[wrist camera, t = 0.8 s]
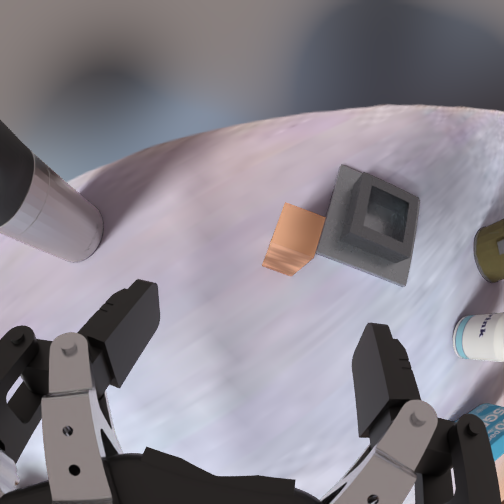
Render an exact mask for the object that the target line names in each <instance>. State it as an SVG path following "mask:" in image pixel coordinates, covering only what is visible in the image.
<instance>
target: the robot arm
mask: <svg viewBox="0 0 504 504" xmlns="http://www.w3.org/2000/svg"><path fill="white" fill-rule="evenodd" d="M0 233H1V234H3V235H6V236H8V237H11V238H13V239H15V240H17V241H20V242H22V243H24V244H27V245H29V246H31V247H34V248H36V249H39V250H41V251H43V252H46V253H48V254H51V255H53V256H56V257H58V258H61V259H63V260H66V261H69V262H80V261H83V260H85V259H87V258H88V257H89V256H90V255H91V254H93V252H94V251H95V250H96V248H97V247H98V245H99V243H100V240H101V237H102V233H103V220H102V216H101V214H100V212H99V211H98V209H97V208H96V207H95V206H93V205H92V204H91V203H90V202H89V201H87V200H86V199H85V198H84V197H83V196H82V195H81V194H79V193H78V192H77V191H76V190H75V189H74V188H72V187H71V186H70V185H69V184H68V183H67V182H65V181H64V180H63V179H62V178H61V177H60V176H59V175H57V174H56V173H55V172H54V171H53V170H52V169H51V168H50V167H48V166H47V165H46V164H45V163H44V162H43V161H42V160H40V159H39V158H38V157H37V156H36V155H35V154H34V153H33V152H32V151H31V150H30V149H29V148H27V147H26V146H25V145H24V144H23V143H22V142H21V141H20V140H19V139H18V138H17V137H16V136H15V134H13V132H12V131H11V130H10V129H8V127H7V126H6V125H5V124H4V123H3V122H2V121H1V120H0ZM159 321H160V308H159V296H158V286H157V284H156V283H153V282H149V281H144V280H140V279H137V280H136V281H135V282H134V283H133V284H132V285H131V286H130V287H129V288H128V289H122V290H120V291H118V292H116V293H115V294H113V295H112V296H111V297H110V298H109V299H108V300H107V301H106V303H105V304H103V305H102V306H101V308H100V310H98V311H97V312H96V313H95V314H94V315H93V316H92V317H91V318H90V319H89V321H88V322H87V323H86V324H85V325H84V326H83V327H82V328H81V329H80V330H79V332H78V333H73V332H71V333H65V334H62V335H60V336H58V337H57V338H55V339H54V341H47V340H40V339H36V337H35V334H34V332H33V330H32V329H31V328H30V327H27V326H17V327H14V328H12V329H11V330H9V331H8V332H7V333H6V334H5V335H4V336H3V337H2V338H1V340H0V504H402V503H403V501H404V500H405V498H406V496H407V495H408V493H409V492H410V490H411V488H412V487H413V485H414V483H415V504H501V497H500V490H499V484H498V478H497V472H496V467H495V462H494V458H493V453H492V449H491V445H490V441H489V437H488V433H487V430H486V427H485V424H484V422H483V421H482V420H481V419H480V418H479V417H478V416H476V415H474V414H465V415H463V416H461V417H460V418H459V419H458V420H457V422H453V421H449V420H445V419H441V418H438V417H437V414H436V412H435V410H434V409H433V408H432V406H430V405H429V404H428V403H426V402H424V401H421V398H420V394H419V391H418V387H417V384H416V381H415V377H414V374H413V371H412V370H411V365H410V362H409V361H408V360H409V359H408V356H407V353H406V350H405V348H404V347H403V345H402V344H401V343H400V342H399V341H398V339H393V338H392V335H391V332H390V329H389V326H388V325H385V324H377V323H368V324H367V325H366V327H365V329H364V332H363V334H362V336H361V338H360V341H359V343H358V345H357V347H356V349H355V352H354V355H353V359H352V372H353V380H354V389H355V398H356V408H357V419H358V431H359V437H361V438H370V444H369V445H368V447H367V448H366V449H365V450H364V452H363V453H362V454H361V455H360V457H359V458H358V459H357V460H356V462H355V463H354V464H353V465H352V467H351V468H350V469H349V470H348V471H347V472H346V474H345V475H344V476H343V477H342V478H341V479H340V480H339V482H338V483H337V484H336V485H335V486H334V487H332V488H331V489H330V490H329V491H328V492H327V493H326V494H325V495H324V496H323V497H322V498H321V499H320V500H318V499H317V498H316V497H314V496H312V495H311V494H309V493H307V492H305V491H302V490H300V489H297V488H295V480H292V479H282V478H273V477H266V476H259V475H256V476H215V475H212V474H210V473H208V472H206V471H204V470H202V469H200V468H198V467H196V466H195V465H193V464H191V463H189V462H187V461H185V460H183V459H182V458H179V457H176V456H172V455H169V454H166V453H163V452H160V451H157V450H154V449H152V448H149V447H146V449H145V451H144V453H143V454H139V453H126V454H123V451H122V449H121V446H120V444H119V441H118V439H117V436H116V433H115V429H114V425H113V421H112V417H111V412H110V407H109V403H108V398H107V393H106V389H107V387H108V386H109V384H110V385H113V386H115V387H117V388H120V387H121V385H122V384H123V382H124V381H125V379H126V377H127V376H128V374H129V372H130V371H131V369H132V368H133V366H134V364H135V363H136V361H137V360H138V358H139V357H140V355H141V353H142V352H143V350H144V349H145V347H146V345H147V344H148V342H149V341H150V339H151V338H152V336H153V335H154V333H155V331H156V330H157V328H158V325H159ZM19 376H21V378H22V379H23V382H22V384H21V385H20V386H19V388H18V389H17V390H16V392H15V393H14V395H13V396H12V398H11V399H10V400H9V402H8V403H7V402H6V395H7V393H8V391H9V390H10V388H11V387H12V386H13V384H14V383H15V381H16V380H17V379H18V377H19ZM41 418H42V429H43V441H44V451H45V459H46V466H47V473H48V479H49V480H47V481H44V482H41V483H38V484H35V485H31V486H28V487H24V488H21V489H17V490H15V486H16V485H18V484H19V482H20V478H19V476H18V474H17V468H16V463H17V461H18V459H19V457H20V455H21V453H22V451H23V450H24V448H25V446H26V444H27V442H28V441H29V439H30V437H31V435H32V434H33V432H34V430H35V429H36V427H37V425H38V423H39V422H40V420H41ZM451 468H453V470H454V477H455V485H456V491H455V494H454V496H453V485H452V477H451Z"/></svg>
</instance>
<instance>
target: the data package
mask: <svg viewBox="0 0 504 504" xmlns="http://www.w3.org/2000/svg"><path fill="white" fill-rule="evenodd" d="M468 414H474V415H476V416H478V417H479V418H480V419H481V420H482V421H483V422H484V424H485V427H486V430H487V433H488V437H489V441H490V445H491V449H492V453H493V458H494V461H496V460H497V459H498V458H499V457H500V456H501V455H503V454H504V407H501V406H497V405H493V404H489V403H486V404H482V405H480V406H478V407H477V408H475V409H474V410H472V411H471V412H469V413H468ZM455 422H457V420H456V421H455Z"/></svg>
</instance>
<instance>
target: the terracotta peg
mask: <svg viewBox="0 0 504 504" xmlns="http://www.w3.org/2000/svg"><path fill="white" fill-rule="evenodd" d="M325 219H326V217H323V216H321V215H318V214H315V213H313V212H310V211H307V210H305V209H302V208H299V207H297V206H294V205H291V204H289V203H286V202H285V204H284V207H283V210H282V212H281V215H280V218H279V220H278V223H277V226H276V229H275V231H274V234H273V237H272V239H271V242H270V245H269V248H268V250H267V253H266V256H265V259H264V261H263V264H262V266H264V267H266V268H269V269H272V270H275V271H277V272H280V273H283V274H286V275H288V276H293V275H294V274H295V273H296V272H297V271H298V270H300V269H301V268H302V267H303V266H304V265H306V264H307V263H308V262H309V261H310V260H311V259H313V258H314V255H315V252H316V249H317V245H318V242H319V239H320V236H321V232H322V229H323V226H324V222H325Z"/></svg>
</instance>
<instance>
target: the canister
mask: <svg viewBox="0 0 504 504" xmlns="http://www.w3.org/2000/svg"><path fill="white" fill-rule="evenodd" d="M474 256H475V261H476V264H477V267H478V270H479V271H480V273H481V275H482V276H483V277H484V279H486V280H487V281H489V282H491V283H495V282H498V281H499V280H502V279H504V219H502V220H500V221H498V222H496V223H494V224H492V225H490V226H487V227H483V228H481V229H480V230H479V231H478V232H477V234H476V236H475V240H474Z"/></svg>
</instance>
